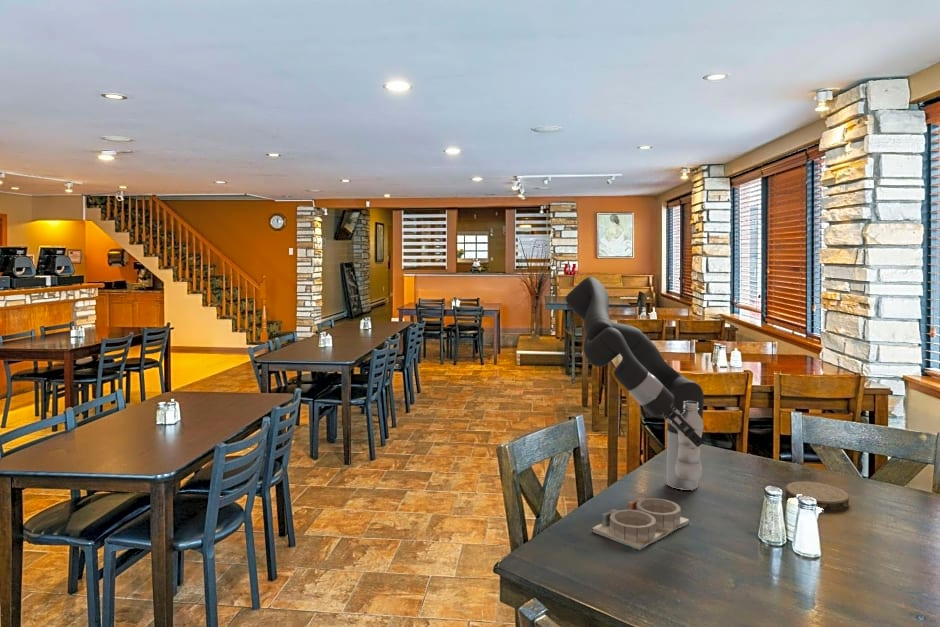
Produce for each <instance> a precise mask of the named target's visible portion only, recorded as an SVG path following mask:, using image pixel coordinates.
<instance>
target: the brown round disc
mask: <svg viewBox="0 0 940 627" xmlns="http://www.w3.org/2000/svg"><path fill="white" fill-rule="evenodd" d="M797 494H802V495H804V496H809V497H813V498H815V499H816V500H817V504H818V507H820V508H823V509H824V511H823V512H838V511H844V510H845V509H848V507H849V501H850V500H849V499H850V498H849V497H850V496H849V494H848V492H846V491H845V490H844V489H841V488H839V487H836V486H833V485H830V484H826V483H822V482H817V481H793V482H792V481H791V482H790V483H787V485H785V498H786V497H787V498H791V497H795V496H796V495H797ZM787 498H786V499H787Z"/></svg>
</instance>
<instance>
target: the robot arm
mask: <svg viewBox="0 0 940 627" xmlns="http://www.w3.org/2000/svg"><path fill="white" fill-rule="evenodd" d="M609 299H610V298H609V292H608V291H607V289H606V287H605V286H604V285H603V284H602V283H601V282H600V281H599V280H598V279H596V278H595V277H593V276H588V277H585V278H584V279H583V280H581V281H580V282H579V283H578V284H576V286H575V287H574V288H573V289H572V290H571V291H570V292H569V293H567V295H566V297H565V302H566V304H567V305H568V307H569V308H570V309H571V311H573V313H575V314H576V315H577V316H579V318H581V319H582V320H583V321H584V328H585V333H586V335H585V338H584V344H583V352H584V355H585V358H586V359H587V362H589V363H590V365H592V366H593V367H597V368H602V367H605V366H606V365H608V364H609V363H611V362H612V361H613V360H614V359H615V358H617V356H619V355H620V356H621V360H620V362H619V364H618V365H617V366H616V367H615V369H614V371H613V376H614V377H615V379H616V380H617V381H618V382H619V383H620V384H621V385H622V386H623V387H624V388H625V390H627V391H628V392H629V394H630V395H631V396H632V397H633V399H635V401H636V402H637V403H638V404H639V406H641V407H642V408H643V409H644V410H645V411H646V412H647V413H648V414H649V415H650V416H652V417H658V416H660V415H661V417H662V418H663V419H664V421H666V422H667V432H666V433H667V435H666V438H667V439H666V442H667V445H666V449H667V450H666V478H665V479H666V482H667V484H669V485H671V486H673V487H676V488H683V489H694V488H697V487H698V488H699V485H698V483H699V484H700V479H699V480H697V481H686V480H682V479H680V478H678V477H677V475H676V472H675V466H676V461H677V456H678V448H679V446H678V444H679V442H678V431H681V432H682V433H683V434H684V436H685V437H688V438H689V439H690V440H691V441H692V442H693V443H694V444H695V445H696V446H697V447H699V446H700V447H701V445H702V444H703V443H704V439H702V437H701V438H700V437H699V436H698V435H697V434H696V433H695V432H694V429H693V428H692V427H691V426H690V425H689V424H688V421H687V420H686V419H685V418H684V417H683V416H682V415H681V414H682V413H683V412H684V409H683V402H684V401H695V402H698V408H699V410H698V411H697V412H698V414H699V415H700V417H701V419H702V420H703V416H704V390H703V389H702V387H701V385H700V384H698V383H697V382H696V381H694V380H691V379H689V378H686V377H685V376H683V375H682V374H681V373H679V372H678V371H676V370H675V369H674V368H673V367H672V366H671V365H669V363H668V362H667V361H666V359H664V357H663V355H662V354H661V352H660V350H659V349H658V348H657V346H656V345H655V343H653V342H652V340H651V339H650V338H649V337H648V336H647V335H646V334H645V333H643V331H641V330H640V329H639V328H637V327H635V326H632V325H629V324H625V323H619V322H614V321H611V318H610V312H609V311H610V309H609V308H610V302H609V301H610V300H609ZM685 427H688V428H689V429H688V430H687V431H686V432H684V431H683V429H684V428H685ZM667 484H666V485H667ZM698 488H697V489H698Z"/></svg>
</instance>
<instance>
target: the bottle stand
mask: <svg viewBox="0 0 940 627" xmlns="http://www.w3.org/2000/svg"><path fill="white" fill-rule="evenodd" d="M627 508H628V509H616V508H612V509H610V510H609V511H606V512H604V513H602V514H601V520H602V521H601V523H600V524H597V525H595V526H593V527H592V528H591V530H592V529H593V530H595V531H598V532H601V533H604V534H606V535H608V536H611V537H614V538H616V539H619V540H621V541H624V542H625V543H627V544H630V545H632V546H634V547H637V548H640V547H642V546H644V545H645V544H647V543H649V542H651V541H653V540H655V539H657V538H659V537H661V536H663V535H665V534H666V533H668V532H670V531H672V530H674V529H676V528H678V527H679V526H682V525H683V524H685V523H687V522H689V523H690V519H688V518H686V517H683V516H681V505H679V504H677V503H676V502H674V501H672V500H668V499H665V498H658V497H657V498H656V497H651V498H649V497H647V498H642V497H638V498H636V499H633V500H631V501H628V507H627Z"/></svg>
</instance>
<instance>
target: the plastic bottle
mask: <svg viewBox="0 0 940 627" xmlns="http://www.w3.org/2000/svg"><path fill="white" fill-rule="evenodd" d="M683 409H684V412H683V413H682V414H681V415H682V416H683V417H684V418H685V419H686V420H687V421H688V424H689V425H690V426H691V427H692V428H693V429H694V432H695V433H696V434H697V435H698V436H699V437H700V438H701V439H702V436H703V430H704V421H703V418H702V419H701V417H700V415H699V414H698V412H697V411H698V410H699V408H698V402H695V401H684V402H683ZM688 429H689V428H688V427H685V428H684V429H683V431H684V432H686V431H687V430H688ZM678 442H679V444H678V446H679V448H678V456H677V461H676V466H675V472H676V475H677V477H678V478H680V479H682V480H686V481H697V480H699V481H700V478H701V477H702V472H703V471H702V470H703V469H702V467H703V466H702V462H701V445H700V446H699V447H697V446H696V445H695V444H694V443H693V442H692V441H691V440H690V439H689V438H688V437H685V436H684V434H683V433H682V432H681V431H678Z"/></svg>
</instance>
